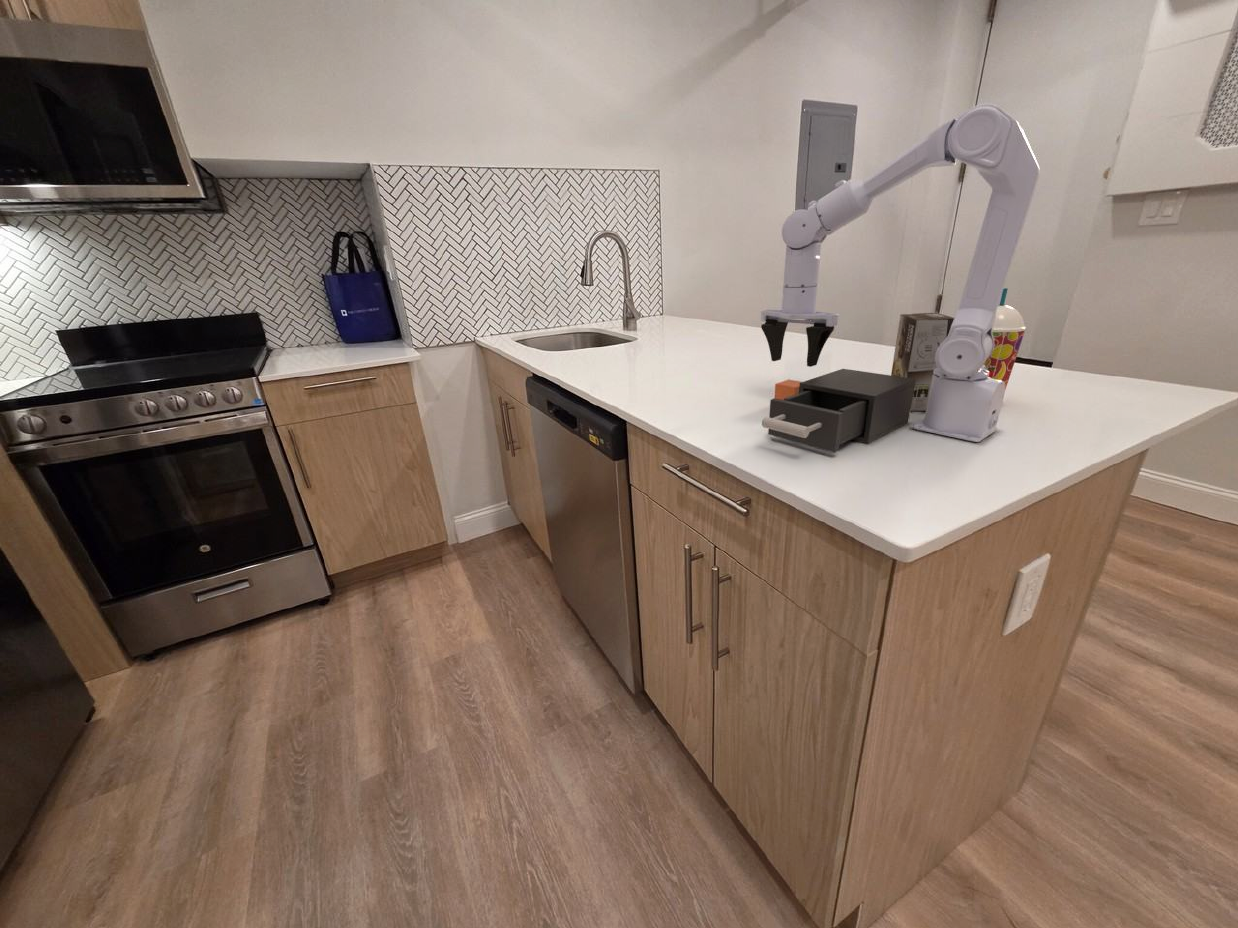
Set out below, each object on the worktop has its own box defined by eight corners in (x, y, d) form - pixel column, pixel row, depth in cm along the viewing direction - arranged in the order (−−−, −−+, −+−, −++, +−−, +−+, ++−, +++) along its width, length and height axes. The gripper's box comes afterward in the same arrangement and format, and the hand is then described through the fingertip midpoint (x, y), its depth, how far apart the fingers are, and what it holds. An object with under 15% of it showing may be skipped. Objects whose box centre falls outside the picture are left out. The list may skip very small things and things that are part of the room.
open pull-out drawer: (814, 462, 70) (819, 422, 67) (748, 442, 78) (750, 406, 76) (877, 431, 79) (882, 396, 77) (811, 416, 88) (815, 384, 85)
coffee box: (939, 411, 89) (958, 318, 83) (900, 411, 91) (916, 319, 84) (922, 397, 98) (938, 311, 91) (886, 397, 99) (899, 312, 93)
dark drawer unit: (867, 444, 77) (875, 396, 74) (795, 426, 86) (799, 382, 83) (908, 423, 85) (916, 379, 82) (837, 408, 94) (842, 368, 91)
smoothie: (944, 396, 98) (966, 287, 90) (991, 395, 97) (1018, 285, 89) (965, 408, 90) (991, 291, 82) (1016, 408, 89) (1048, 289, 81)
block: (806, 405, 97) (808, 382, 95) (793, 410, 95) (795, 387, 93) (786, 401, 100) (788, 379, 99) (773, 405, 98) (775, 383, 96)
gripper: (752, 287, 92) (748, 361, 97) (825, 289, 81) (816, 372, 87) (775, 284, 96) (770, 355, 101) (848, 285, 85) (838, 365, 91)
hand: (793, 362), depth 94 cm, fingers open, 7 cm apart
